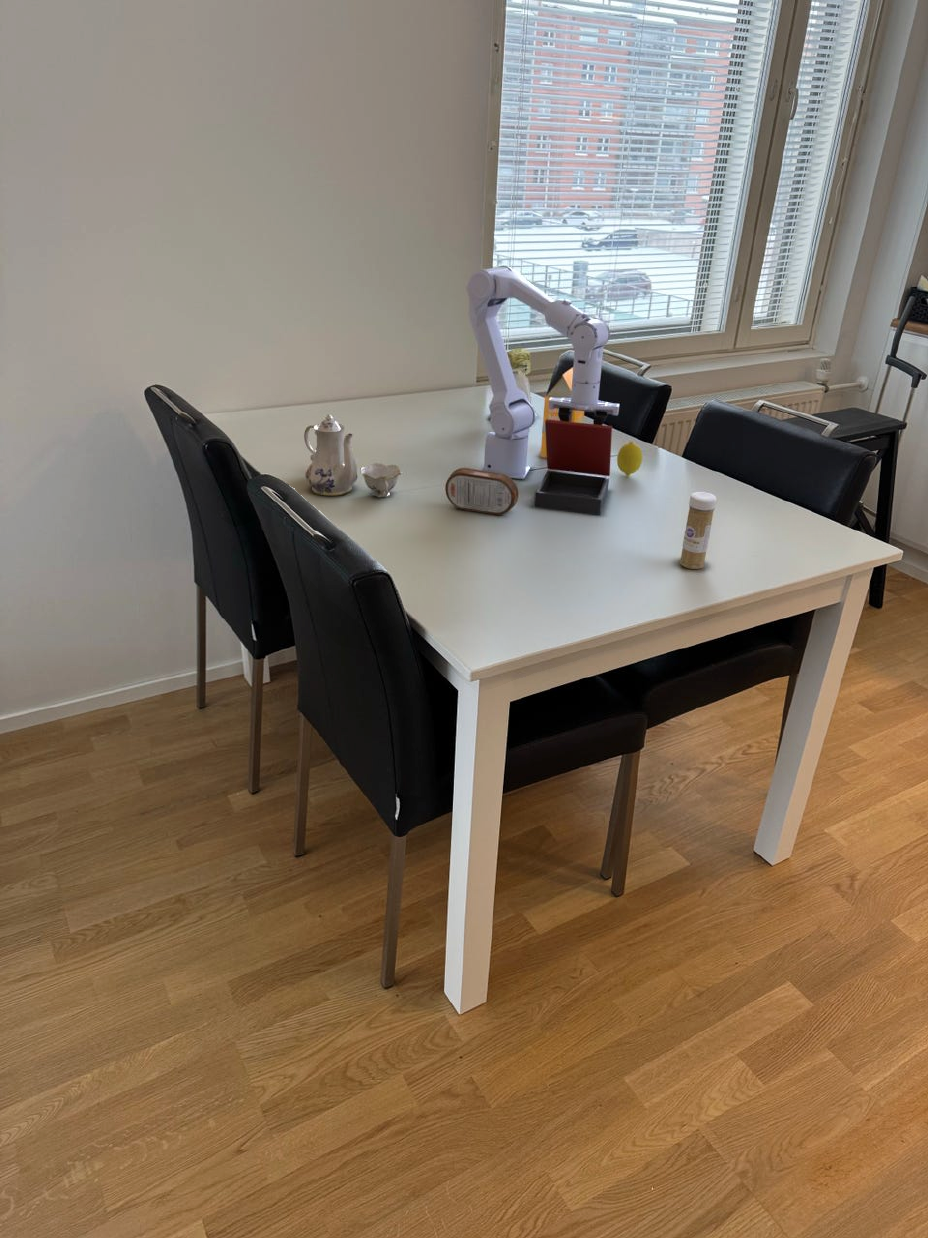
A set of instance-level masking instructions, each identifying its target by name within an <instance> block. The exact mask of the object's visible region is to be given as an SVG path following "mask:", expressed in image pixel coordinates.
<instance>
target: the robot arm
mask: <svg viewBox="0 0 928 1238" xmlns="http://www.w3.org/2000/svg"><path fill="white" fill-rule="evenodd" d="M465 289H466V292H467V295H468V317H469V321H470V324H471V327H472V331H473V333H474V337H475V340H476V343H477V347H478V349H479V353H480V356H481V359H482V362H483V366H484V369H485V372H486V376H487V378H488V382H489V385H490V388H491V392H492V398H491V400H490V403H489V404H488V405H489V406H488V408H489V412H490V413H491V416H490V426H491V427H490V428H491V429H492V431H488V432H487V434H486V437H485V442H484V456H483V471H489V472H495V473H501V474H504V475H506V476H508V477H510V478H511V479H516V480H517V479H518V480H524V479H525V478H526V476H527V475H528V473H529V472H530V470H531V466H528V465H527V462H528V461H527V460H528V448H529V447H528V446H529V433H530V428H531V427H532V426H533V425H534V424H535V421H536V417H537V416H536V414H537V413H536V412H535V411H536V410H535V408H534V406H533V405H532V403H531V404H530V403H529V401H528V399H527V396H526V394H525V393H524V392H523V391H521V390H520V389H519V388H518V387H517V385H516V381H515V378H514V375H513V371H512V368H511V365H510V362H509V358H508V355H507V353H508V351H507V349H506V345H505V342H504V339H503V336H502V335H503V334H502V331H501V328H500V325H499V322H498V318H497V315H498V313H499V312H500V310H501V307H502V306H503V304H504V303H506V301H507V300H508V299H516V300H517V301H519V302H521V303H522V304H524V305H526V306H528V307H530V308H531V309H532V310H535V311H537V312H538V313H540V314H541V315H543V316H544V320H545V323H546V325H547V326H549V327H551V328H552V329H553V330H555V331H557V332H558V333H560V334H561V335H562V336H564V337H565V338H567V339H569V340H570V343H571V346H572V347H573V351H574V352H573V377H572V388H571V398H552V397H551V398H550V399H549V406H548V409H554V408H556V409H559V412H558V416H559V419H560V421H567V422H571V419H572V412H573V410H576V411H584V412H585V413H594V414H593V423H592V424H596V425H604V423H605V421H606V420H607V417H608V415H611V416H618V415H619V413H620V412H619V411H620V403H613V402H608V401H604V400H599V396H600V386H601V385H600V384H601V376H602V366H603V357H604V346H605V345H606V344H607V343H608V342H609V339H610V336H611V331H610V330H611V329H610V327H609V324H607V323H606V321H604V319H603V318H602V317H591V314H590V313H588V312H583V311H581V310H580V309H579V308H577V307H575V306H574V305H572V303H573V301H572V300H570V299H569V298H566V299H563V298H558V299H556V300H554V299H552V298H551V297H550V296H548V295H547V294H546V293H544V292H543V291H541V290H540V289H539V288H537V287H536V286H535V285H534V284H532V283H531V282H530V281H528V280H527V279H526V278H524V277H523V276H522V274H521V273H520V272H518V271H517V270H513V268H512V267H510V266H508V265H500V266H496V267H491V268H480V269H476V270H475V271H473V273H472V274H471V275H470V278H469V280H468V281H467V284H466V286H465ZM535 413H536V414H535Z"/></svg>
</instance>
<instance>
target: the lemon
mask: <svg viewBox="0 0 928 1238" xmlns="http://www.w3.org/2000/svg"><path fill="white" fill-rule="evenodd" d="M642 462H643V452H642V449H641V447H640V446H639V445H638V444H636V443H634V441H629V442H627V443H624V444H623V445H622V446H621V447H620V448H619V450H618V453H617V457H616V464H617V467H618V470H620V472H622V473H624V475H625V476H627V477H629V476H631V474H634V473H636V472H638V470H639V469H640V468H641V465H642Z"/></svg>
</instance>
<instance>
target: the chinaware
mask: <svg viewBox="0 0 928 1238" xmlns="http://www.w3.org/2000/svg"><path fill="white" fill-rule="evenodd" d="M310 429H314V435H315V437H316V447H315V449H313V447H312V445H311V443H310V440H309V433H310ZM345 429H346V426H345V425H343V424H342V423H338V422H337V421H336V419H334V418H333V416H332V415H331V414H330V413H328V414H327V415H326V416H325V419H323V420H322V421H321V423H318V424H312V425H308V426H307V427H306V428H305V430H304V433H303V438H304V443H305V446H306V448H307V450H308V451H309V452H310V453H311V454H310V456H309V457H310V460H311V463H310V464H309V467H308V468H307V470H306V472H305V479H306V481H307V482H308V483H309V485H311V487H312V488H311V491H312V492H313V493H314V494H316V495H320V496H324V497H337V496H344V495H347V494H348V493H350V492H352V490H353V488H352V486H353V485H354V484H355V483H356V482H357V480H358V468H357V463H356V459H355V456H354V451H353V450H354V447H353V446H352V443H351V439H352V437H353V435H354V434H353V433H347V434H346V435H345V436H344V432H345ZM360 473H361V475H362V477H363V479H364V483H365V485H366V486H367V488H368V489H369V490H370V491H372V492H373V493H372V496H374V497H377V498H383V497H384V498H385V497H388V496H390V494H391V492H390V491H392V490H394V488H395V486H396V485H397V483H398V479H399V476H401V475H402V473H403V472H402V470H400V467H399V466H397V465H395V464H389V465H387V466H386V465H385V464H383V463H377V462H376V463H372V464H370V465H369V466H367V467H366V466H362V467H360Z"/></svg>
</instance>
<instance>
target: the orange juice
mask: <svg viewBox="0 0 928 1238" xmlns="http://www.w3.org/2000/svg"><path fill="white" fill-rule="evenodd" d="M572 377H573V367H572V366H571V368H570V369H568V370H567V371H565V372H564V373H562V376H561V377H560V378H559V380H558V381H557V382H556V383H555V384H554V386H553V387H552V388H551V389H550V391H549V392H548V393H547V394H546V395H545V396H544V405H543V406H544V407H543V417H542V419H543V420H542V428H541V429H542V430H541V433H542V434H541V445H540V455H539V456H540V458H543V459H547V451H546V430H545V420H546V419H547V420H557V421H560V419H559V416H558V412H559V409H556V408H554V409H548V406H549V399H550V398H551V397H552V398H571V388H572ZM584 420H585V411H576V410H573V412H572V419H571V422H577V423H584Z"/></svg>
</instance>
